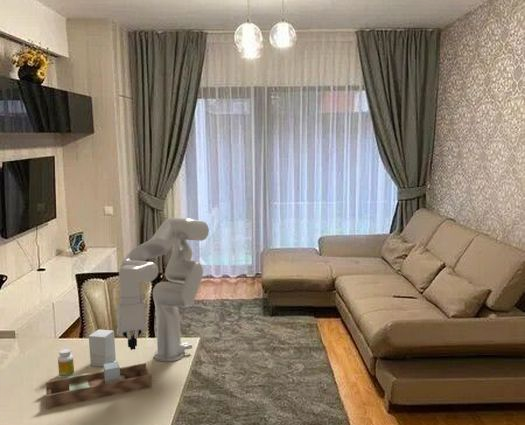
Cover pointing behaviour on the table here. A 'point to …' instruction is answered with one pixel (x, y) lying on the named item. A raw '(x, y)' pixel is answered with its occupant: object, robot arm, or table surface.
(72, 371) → the supplement bottle
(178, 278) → the robot arm
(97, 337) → the supplement box
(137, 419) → the table surface
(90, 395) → the box
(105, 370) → the block
